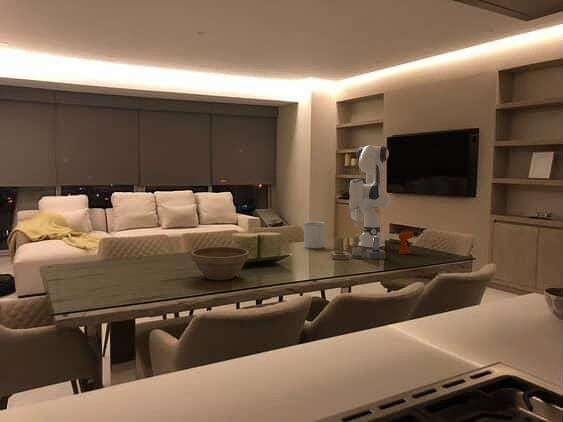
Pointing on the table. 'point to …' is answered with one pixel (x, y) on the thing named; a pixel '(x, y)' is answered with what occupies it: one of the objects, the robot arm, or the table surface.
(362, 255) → the guide channel
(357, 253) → the release bar
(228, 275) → the flower pot
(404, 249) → the toy drill
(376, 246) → the drill bit
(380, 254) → the socket block
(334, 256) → the rack
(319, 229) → the utensil holder
